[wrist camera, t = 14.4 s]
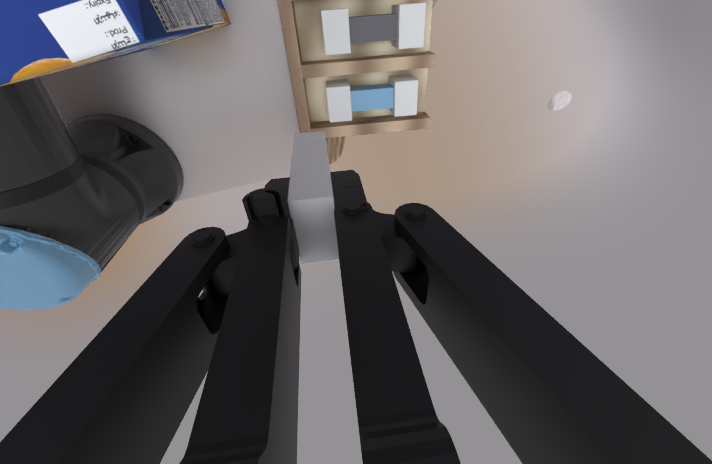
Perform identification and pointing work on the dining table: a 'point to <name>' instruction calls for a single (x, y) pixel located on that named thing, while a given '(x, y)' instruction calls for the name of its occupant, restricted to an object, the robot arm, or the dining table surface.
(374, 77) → the wooden compartment tray
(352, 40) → the blocky gray dumbbell
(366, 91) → the blocky blue dumbbell
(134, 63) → the dining table surface
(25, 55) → the beverage box
